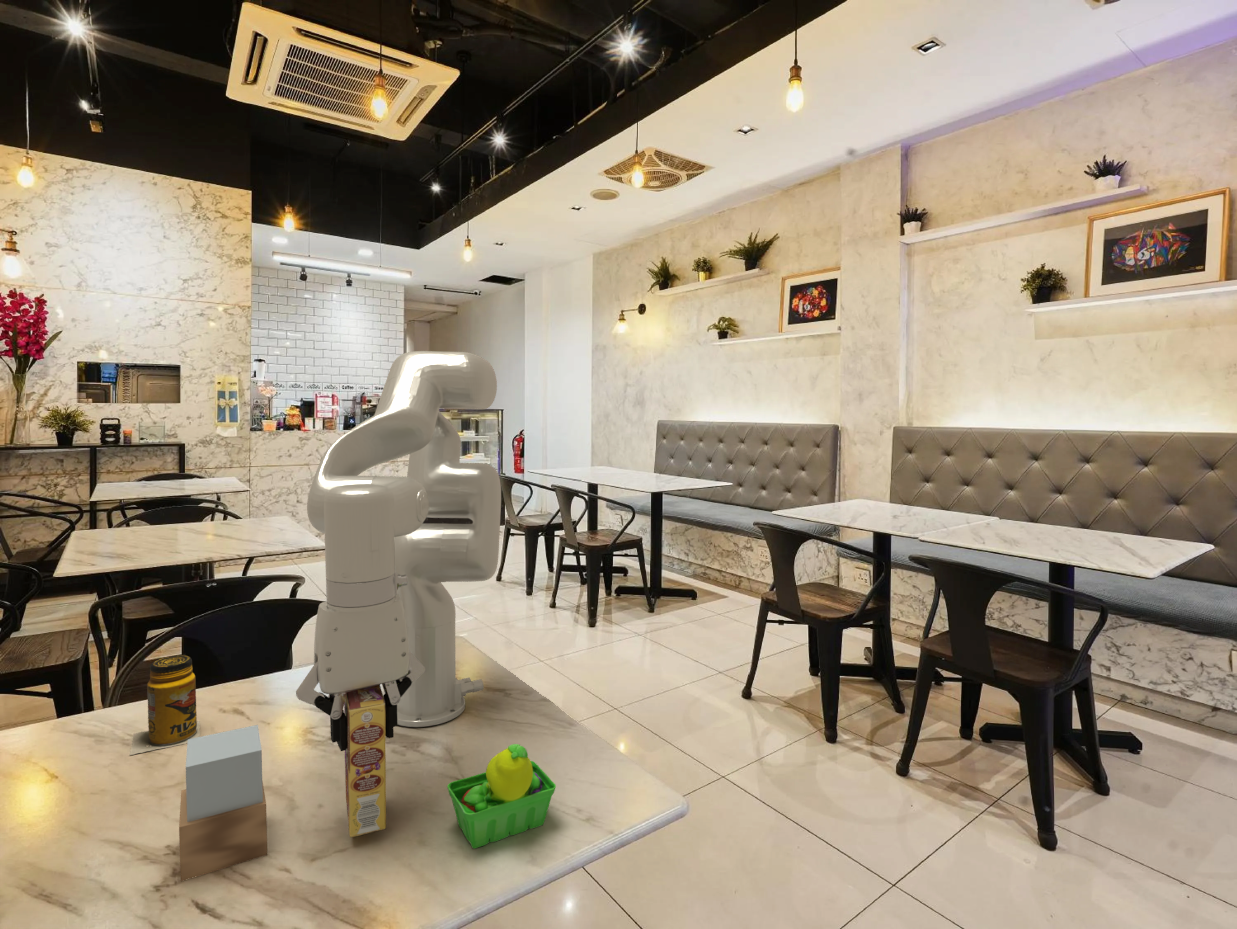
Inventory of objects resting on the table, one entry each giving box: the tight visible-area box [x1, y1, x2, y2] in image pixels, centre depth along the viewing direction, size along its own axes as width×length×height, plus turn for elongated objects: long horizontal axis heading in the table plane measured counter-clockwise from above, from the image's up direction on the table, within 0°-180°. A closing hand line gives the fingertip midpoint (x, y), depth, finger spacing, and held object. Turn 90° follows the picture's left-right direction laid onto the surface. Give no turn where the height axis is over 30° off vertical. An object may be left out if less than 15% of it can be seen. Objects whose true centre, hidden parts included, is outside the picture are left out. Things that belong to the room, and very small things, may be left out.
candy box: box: [343, 684, 387, 838], centre depth 77 cm, size 9×4×15 cm, turn 26°
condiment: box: [129, 654, 201, 756], centre depth 97 cm, size 7×8×12 cm
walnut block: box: [178, 780, 268, 882], centre depth 73 cm, size 8×8×6 cm
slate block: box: [185, 724, 263, 822], centre depth 72 cm, size 7×7×6 cm
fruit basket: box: [446, 743, 557, 849], centre depth 76 cm, size 11×9×11 cm
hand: (364, 737), depth 77 cm, fingers closed on candy box, 4 cm apart
